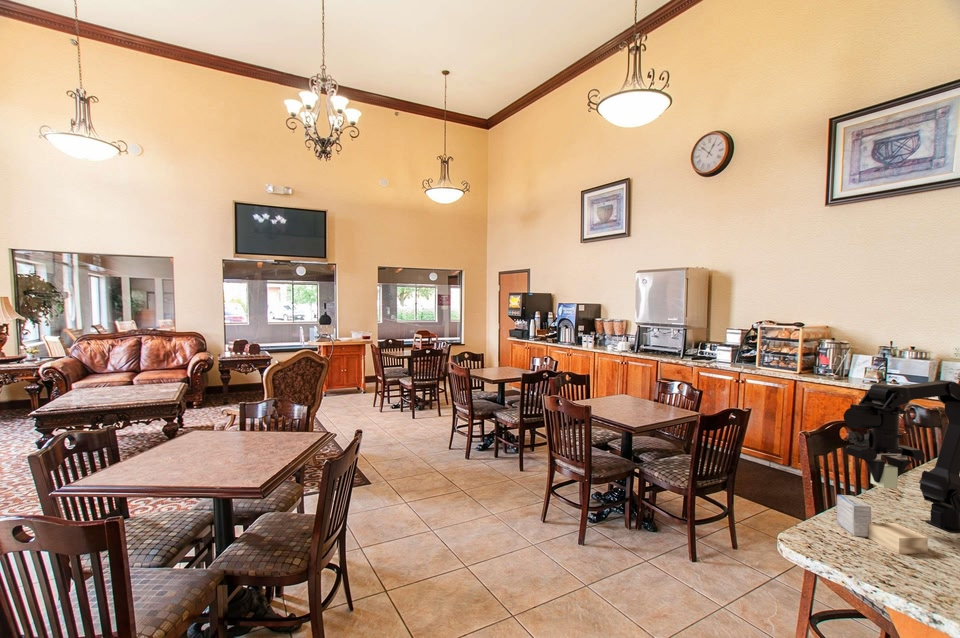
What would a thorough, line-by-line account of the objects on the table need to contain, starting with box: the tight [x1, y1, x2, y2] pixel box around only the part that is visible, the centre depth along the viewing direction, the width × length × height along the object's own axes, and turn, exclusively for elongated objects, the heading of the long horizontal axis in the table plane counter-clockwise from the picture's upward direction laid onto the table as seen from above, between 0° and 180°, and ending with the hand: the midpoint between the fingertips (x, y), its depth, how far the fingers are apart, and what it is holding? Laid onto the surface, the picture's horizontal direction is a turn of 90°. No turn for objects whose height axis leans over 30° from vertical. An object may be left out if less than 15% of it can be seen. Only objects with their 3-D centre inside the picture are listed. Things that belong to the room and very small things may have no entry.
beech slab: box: [868, 522, 929, 555], centre depth 116 cm, size 8×8×4 cm
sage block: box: [870, 463, 899, 489], centre depth 126 cm, size 4×4×6 cm
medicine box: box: [836, 494, 872, 538], centre depth 124 cm, size 8×4×9 cm, turn 168°
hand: (883, 482), depth 126 cm, fingers closed on sage block, 4 cm apart
